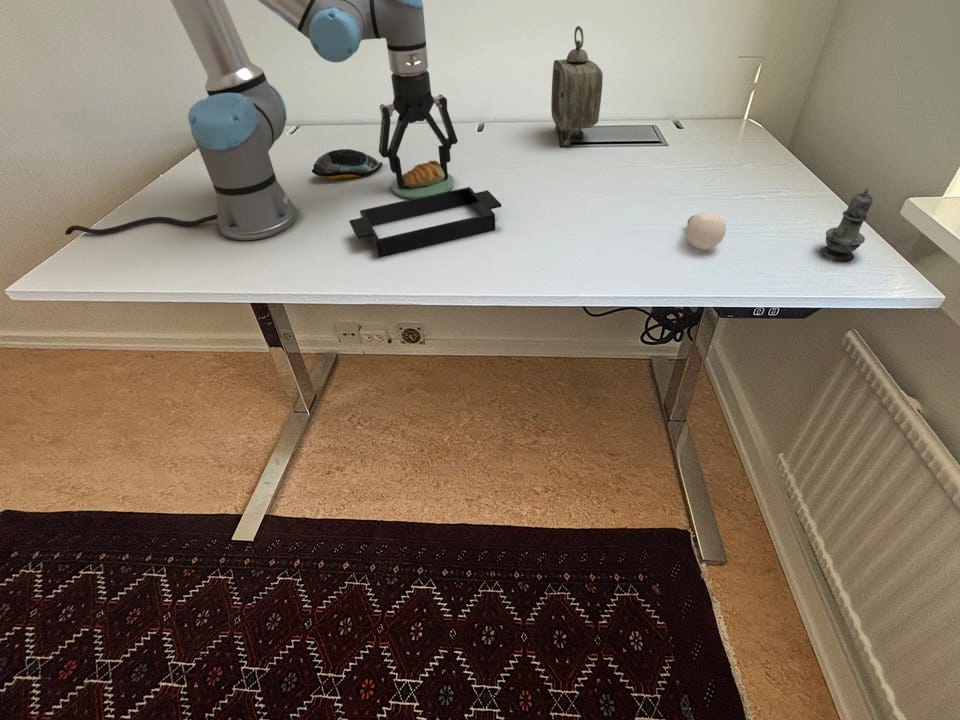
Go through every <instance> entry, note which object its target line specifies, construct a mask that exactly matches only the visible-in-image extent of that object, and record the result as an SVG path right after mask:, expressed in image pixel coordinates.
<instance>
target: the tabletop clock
mask: <svg viewBox="0 0 960 720" xmlns="http://www.w3.org/2000/svg"><path fill="white" fill-rule="evenodd" d="M578 31H579V33H580V37H581V38H580V39H581V40H578V39H577V33H578ZM573 40H574V44H575V45H574V46H575V48H574V49H571V50H570V51H569V52H568V54H567V57H566V59H555V60H554V61H553V66H552V77H551V78H552V79H551V100H550V102H551V103H550V104H551V106H550V109H551V118H552V121H553V122H554V124H555V127H554V130H555V132H560V131H568V133H567V134H568V135H567V139H565V140H564V142H563V145H564V147H569V146H571V140H570V139H571V137H572V135H573V133H574V131H575V130H578V131H577V133H576V136H577V138H583V136H584V132H583V131H582V129H591V128H593V127H594V126H595V125H597V124H598V123H599V118H600V110H601V104H602V103H601V102H602V95H603V94H602V93H603V78H604V77H603V76H604V75H603V71H602V69H601V68H600V67H599V65H597V63H595V62H594V61H592V60H590V59H589V56H588V53H587V51H586V50H584V49H582V48H583V46H584V30H583V28H582V27H581V26H580V25H577V26H576V27H575V29H574V39H573Z"/></svg>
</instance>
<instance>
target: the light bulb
mask: <svg viewBox="0 0 960 720" xmlns="http://www.w3.org/2000/svg"><path fill="white" fill-rule="evenodd" d="M726 231H727V227H726V222H725V221H724V219H723V218H722V217H721V215H720V214H718V213H716V212H713V211H702V212H699V213H697V214H694V215H691V216H690V217H689V218H688V220H687V224H686V231H685V233H686V237H687V241H688V242H689V244H690V245H691V246H692V247H694V248H697V249H699V250H710V249H713V248H715V247H717V246H718V245H719V244H720V243H721V242H722V241H723V239H724V238H725V236H726Z"/></svg>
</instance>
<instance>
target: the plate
mask: <svg viewBox="0 0 960 720" xmlns="http://www.w3.org/2000/svg"><path fill="white" fill-rule="evenodd" d="M406 173H407V172H405V173H402V178H403V176H404V175H405V174H406ZM454 185H455V180H454V177H453V176H452V175H451V174H450V173H448V179H443V181H441V182H440V183H435V184H433V185H430V186H425V187H419V188H411V187H408V186H405V185H404V188H400V187H399V185H398V184H397V178H396V177H395V178H394V179H393V180H392V182H391V190H392V192H393V193H394V194H396V195H397V196H399V197H401V198H406V199H416V198H420V197H425V196H430V195H434V194H439V193H444V192H448V191H451V190H452V188H453V187H454Z"/></svg>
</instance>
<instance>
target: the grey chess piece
mask: <svg viewBox="0 0 960 720" xmlns="http://www.w3.org/2000/svg"><path fill="white" fill-rule="evenodd" d="M873 200H874V199H873V196H871V195H870V194H869V188H865V189H864V190H863V192H858V193H856V194H854V195H853V196H852V197H851V200H850V202H849V204H848V206H847V208H846V210H844V211H842V219H841V221H840V223H839V225H838V226H836V227H830V228H828V229H827V230H826V231H825V236H826V237H825V243H826V245H825V246H823V247H821V248H820V249H819V253H820V255H821V256H822V257H824V258H825V259H827V260H830V261H832V262H838V263H849V262H852V261H853V260H854V259H855V255H854V253H853V252H854V251H856V250H857V249H858V248H859V247H860V246H861V245H862V244H864V243H865V241H866V238H865V236H864V235H863V234H862V233H860V231H861V228H862V226H863V224H864V221H867V219H868V215H867V214H868V212H869V210H870V208H871V206H872V203H873Z"/></svg>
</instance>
